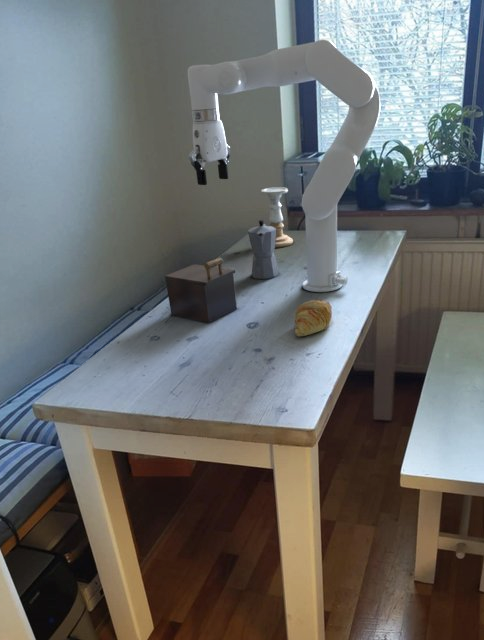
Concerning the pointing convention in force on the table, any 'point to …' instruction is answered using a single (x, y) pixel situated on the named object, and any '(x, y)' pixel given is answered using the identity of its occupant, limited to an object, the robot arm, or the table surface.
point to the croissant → (312, 317)
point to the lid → (201, 273)
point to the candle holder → (277, 215)
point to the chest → (202, 299)
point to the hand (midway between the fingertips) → (213, 181)
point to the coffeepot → (263, 251)
